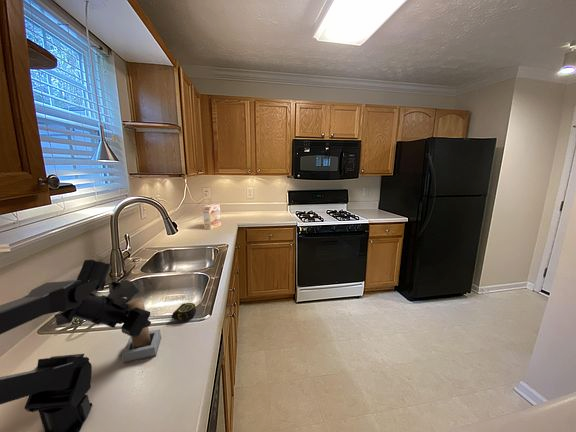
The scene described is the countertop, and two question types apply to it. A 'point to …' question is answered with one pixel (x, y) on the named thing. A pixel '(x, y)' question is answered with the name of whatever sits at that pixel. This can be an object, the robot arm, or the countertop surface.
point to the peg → (144, 335)
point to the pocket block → (142, 348)
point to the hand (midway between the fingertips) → (143, 321)
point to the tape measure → (184, 312)
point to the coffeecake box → (212, 216)
